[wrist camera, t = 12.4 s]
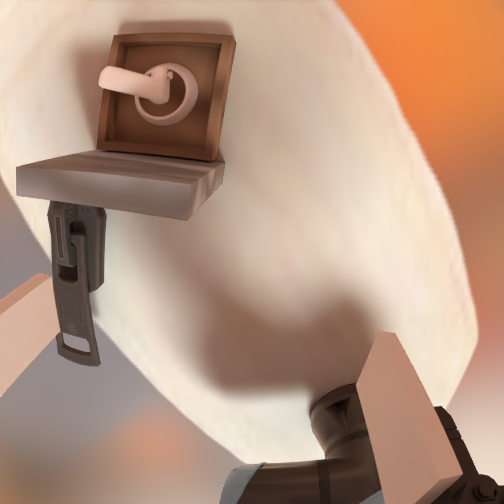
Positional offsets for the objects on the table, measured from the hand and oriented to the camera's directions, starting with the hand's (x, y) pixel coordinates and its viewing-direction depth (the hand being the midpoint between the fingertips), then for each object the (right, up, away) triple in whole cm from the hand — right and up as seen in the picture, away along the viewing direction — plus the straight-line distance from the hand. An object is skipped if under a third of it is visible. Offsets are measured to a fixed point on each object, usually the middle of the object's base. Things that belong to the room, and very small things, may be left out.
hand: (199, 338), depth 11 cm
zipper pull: (-23, 0, +31) cm, 38 cm away
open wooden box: (-8, +20, +22) cm, 31 cm away
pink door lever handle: (-8, +21, +21) cm, 31 cm away
